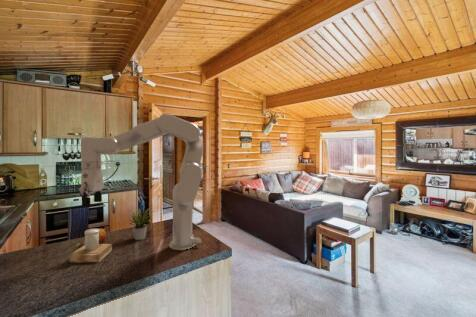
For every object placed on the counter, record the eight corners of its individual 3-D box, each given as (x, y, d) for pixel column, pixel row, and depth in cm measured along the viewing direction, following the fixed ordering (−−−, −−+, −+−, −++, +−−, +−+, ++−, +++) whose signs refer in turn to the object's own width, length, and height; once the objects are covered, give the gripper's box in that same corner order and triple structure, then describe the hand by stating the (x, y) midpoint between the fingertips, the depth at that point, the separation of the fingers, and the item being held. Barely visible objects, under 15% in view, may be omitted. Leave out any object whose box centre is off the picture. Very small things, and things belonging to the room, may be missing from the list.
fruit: (112, 236, 130) (107, 226, 125) (103, 249, 123) (98, 238, 119) (97, 235, 131) (92, 225, 126) (88, 248, 124) (82, 238, 120)
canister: (101, 246, 113) (101, 228, 112) (95, 251, 107) (95, 232, 107) (88, 246, 112) (88, 228, 112) (81, 251, 107) (81, 232, 106)
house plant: (158, 233, 140) (158, 204, 140) (153, 242, 127) (153, 210, 126) (132, 233, 138) (132, 204, 138) (124, 243, 125) (124, 211, 124)
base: (111, 250, 116) (111, 243, 116) (99, 262, 104) (99, 254, 104) (85, 250, 115) (85, 243, 115) (69, 262, 103) (69, 254, 103)
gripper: (89, 167, 100) (90, 209, 100) (109, 164, 117) (110, 200, 118) (70, 167, 99) (71, 209, 100) (92, 164, 116) (93, 200, 117)
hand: (92, 204), depth 109 cm, fingers open, 9 cm apart
